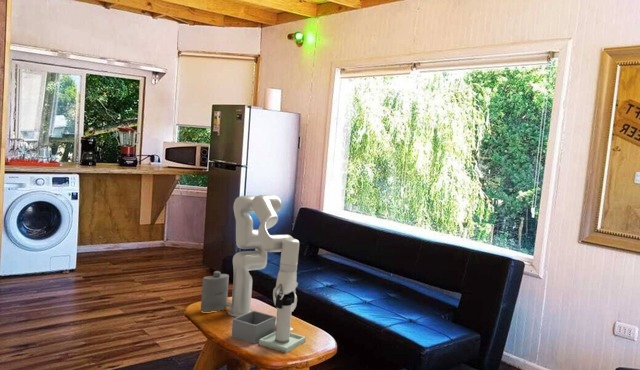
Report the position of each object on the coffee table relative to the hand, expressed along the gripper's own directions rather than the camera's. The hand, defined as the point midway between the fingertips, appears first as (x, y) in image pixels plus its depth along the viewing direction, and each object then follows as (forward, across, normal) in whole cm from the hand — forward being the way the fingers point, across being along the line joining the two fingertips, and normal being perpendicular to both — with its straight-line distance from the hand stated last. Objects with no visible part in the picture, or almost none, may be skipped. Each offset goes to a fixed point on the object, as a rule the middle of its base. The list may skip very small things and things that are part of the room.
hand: (284, 305), depth 220 cm
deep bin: (+17, +2, -14) cm, 22 cm away
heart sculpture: (+18, -17, -11) cm, 27 cm away
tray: (+17, 0, +1) cm, 17 cm away
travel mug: (+16, 0, +1) cm, 16 cm away
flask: (+18, -12, -49) cm, 53 cm away
